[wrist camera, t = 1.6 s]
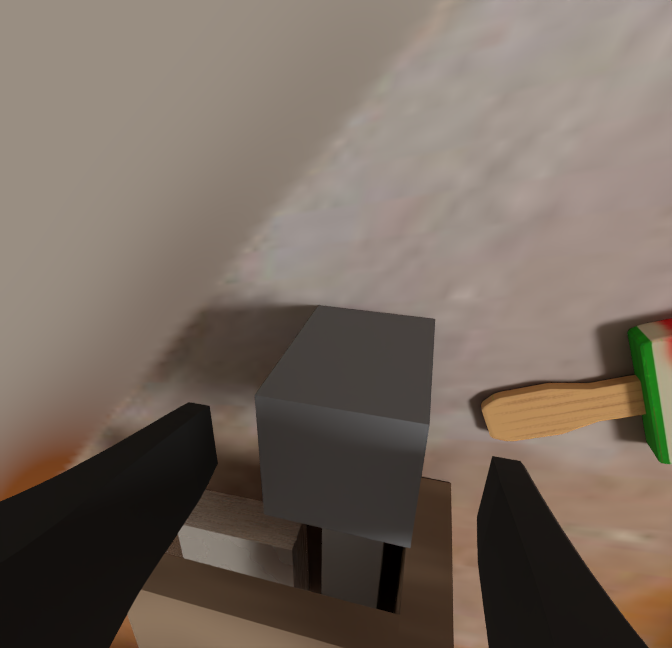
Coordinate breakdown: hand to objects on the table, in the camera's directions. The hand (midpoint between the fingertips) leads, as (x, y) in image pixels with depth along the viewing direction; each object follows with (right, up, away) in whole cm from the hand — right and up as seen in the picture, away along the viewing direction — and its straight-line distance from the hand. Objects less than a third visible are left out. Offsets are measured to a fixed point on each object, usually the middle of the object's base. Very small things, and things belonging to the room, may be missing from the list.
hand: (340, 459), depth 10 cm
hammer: (+1, -4, +7) cm, 8 cm away
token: (-4, -7, +11) cm, 14 cm away
